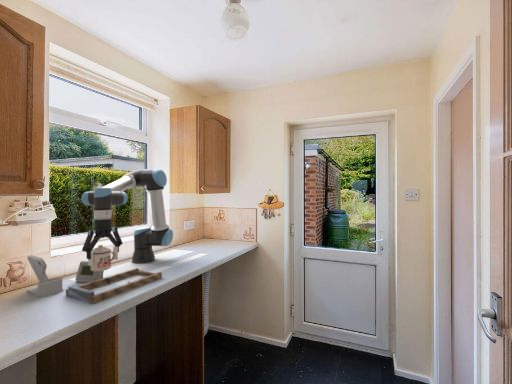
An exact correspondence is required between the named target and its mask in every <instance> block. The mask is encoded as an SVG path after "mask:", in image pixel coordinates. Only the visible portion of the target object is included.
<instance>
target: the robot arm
mask: <svg viewBox="0 0 512 384" xmlns="http://www.w3.org/2000/svg"><path fill="white" fill-rule="evenodd" d="M167 182H168V180H167V175H166V173H165V171H164V170H162V169H159V168H148V169H147V168H146V169H145V168H144V169H140V168H139V169H137V170H133V171H131V172H128V173H125V174H124V175H122V177H121V178H119V179H117V180H115V181H112V182H111V183H108V184H106V185H105V186H102V187H95V188H94V190H93V191H85V192H83V193H82V194H81V202H82V203H83V205H84V206H91V207H92V206H93V207H94V208H93V211H94V212H93V214H94V215H93V218H94V221H93V226H94V229H93V230H92V229H91V230H88V231H87V236H86V239H85V241H84V243H83V246H82V248H81V251H82V252H85V253H86V259H87V261H88V265H89V266H93V252H91V251H92V250H94V249H95V246H96V245H97V243H98V242H99V240H100V239H102V238H103V239H104V238H108V240H109V241H110V242H111V243H112V244H113V247H112V252H114V253H115V258H114V260H115V261H117V260H118V259H119V252H120V247H121V246H122V245H123V241H122V238H121V236H120V234H119V230H118V227H117V226H113V227H112V225H113V221H112V220H113V219H112V213H113V212H112V206H113V207H114V206H123V205H126V204H127V203H128V200H129V196H128V194H127V193H126V192H124V191H126V190H128V189H130V190H131V189H133V188H139V187H141V188H142V187H144V188H145V191H146V192H147V193H148V196H149V197H148V198H149V205H150V211H151V212H150V213H151V219H152V226H147V227H141V228H136V229H135V230H134V233H133V243H134V245H133V247H134V248H133V249H134V250H133V252H132V253H133V254H132V257H131V262H132V263H135V264H144V263H145V264H146V263H151V262H154V261H155V260H156V255H155V254H154V250H153V247H168V246H170V244H171V243H172V241H173V238H174V231H173V229H170V226H169V224H167V220H166V211H165V203H164V196H163V191H164V189H165V186H167ZM114 260H113V261H114Z"/></svg>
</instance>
